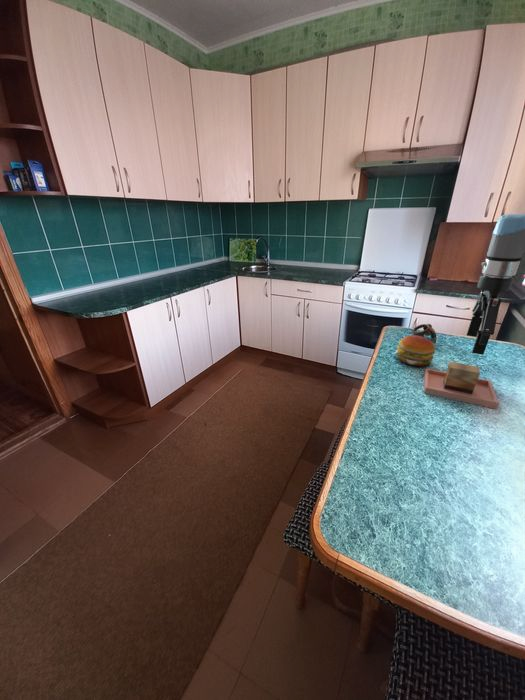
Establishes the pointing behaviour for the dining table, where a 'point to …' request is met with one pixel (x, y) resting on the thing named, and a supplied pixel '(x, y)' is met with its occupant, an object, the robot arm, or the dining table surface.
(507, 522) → the dining table surface
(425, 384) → the tray
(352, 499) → the dining table surface
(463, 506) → the dining table surface
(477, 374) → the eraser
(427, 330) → the pottery mug
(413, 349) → the burger
